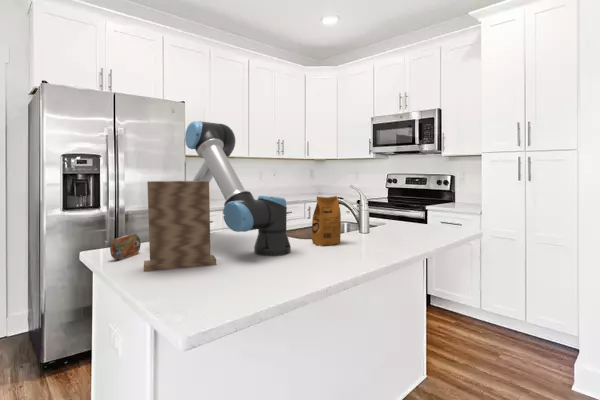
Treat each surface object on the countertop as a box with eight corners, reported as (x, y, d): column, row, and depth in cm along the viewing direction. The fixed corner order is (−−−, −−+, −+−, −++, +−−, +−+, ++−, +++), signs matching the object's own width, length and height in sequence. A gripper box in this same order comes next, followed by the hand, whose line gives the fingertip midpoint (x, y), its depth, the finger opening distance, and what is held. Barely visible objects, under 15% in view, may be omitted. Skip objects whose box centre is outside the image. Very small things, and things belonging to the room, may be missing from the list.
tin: (116, 262, 135) (115, 239, 134) (108, 261, 136) (107, 239, 135) (141, 253, 150) (140, 232, 149) (134, 252, 150) (134, 232, 150)
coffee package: (309, 242, 171) (309, 195, 169) (333, 240, 176) (333, 195, 174) (318, 246, 162) (318, 197, 160) (342, 244, 167) (343, 196, 165)
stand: (213, 260, 138) (212, 180, 135) (216, 264, 132) (214, 181, 129) (144, 266, 129) (141, 181, 127) (143, 271, 123) (140, 182, 120)
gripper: (200, 221, 176) (206, 228, 156) (144, 224, 167) (143, 232, 147) (200, 206, 175) (206, 211, 156) (143, 208, 166) (142, 213, 146)
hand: (175, 221), depth 151 cm, fingers open, 13 cm apart
